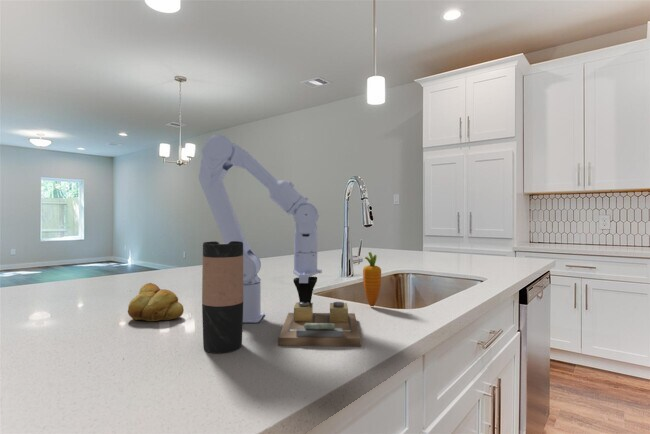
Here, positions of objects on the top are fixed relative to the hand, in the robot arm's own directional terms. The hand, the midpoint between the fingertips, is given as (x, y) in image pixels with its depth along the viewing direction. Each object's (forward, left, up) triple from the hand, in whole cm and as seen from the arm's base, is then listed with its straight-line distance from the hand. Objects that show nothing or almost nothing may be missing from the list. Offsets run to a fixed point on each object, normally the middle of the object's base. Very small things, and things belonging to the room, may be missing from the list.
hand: (305, 307), depth 91 cm
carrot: (+18, +11, -3) cm, 21 cm away
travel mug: (-14, -20, -3) cm, 25 cm away
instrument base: (+4, -10, -3) cm, 11 cm away
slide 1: (0, -6, -1) cm, 6 cm away
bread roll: (-36, -2, -3) cm, 36 cm away
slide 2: (+8, -6, -1) cm, 10 cm away
